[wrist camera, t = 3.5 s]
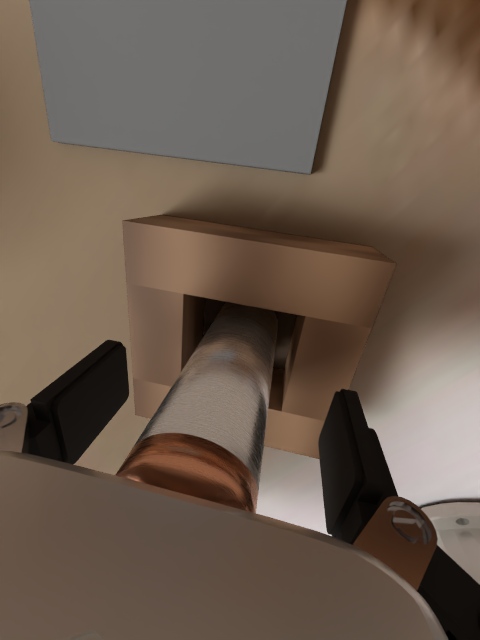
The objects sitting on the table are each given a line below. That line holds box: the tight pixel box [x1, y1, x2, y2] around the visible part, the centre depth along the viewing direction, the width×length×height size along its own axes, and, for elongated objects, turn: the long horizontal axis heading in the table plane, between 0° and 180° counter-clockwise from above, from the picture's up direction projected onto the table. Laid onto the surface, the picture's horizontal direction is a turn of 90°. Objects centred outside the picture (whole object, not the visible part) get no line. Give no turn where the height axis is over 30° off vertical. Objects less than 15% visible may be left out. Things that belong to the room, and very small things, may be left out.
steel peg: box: [115, 302, 278, 514], centre depth 12 cm, size 4×4×12 cm
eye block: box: [122, 215, 396, 459], centre depth 16 cm, size 12×12×4 cm
